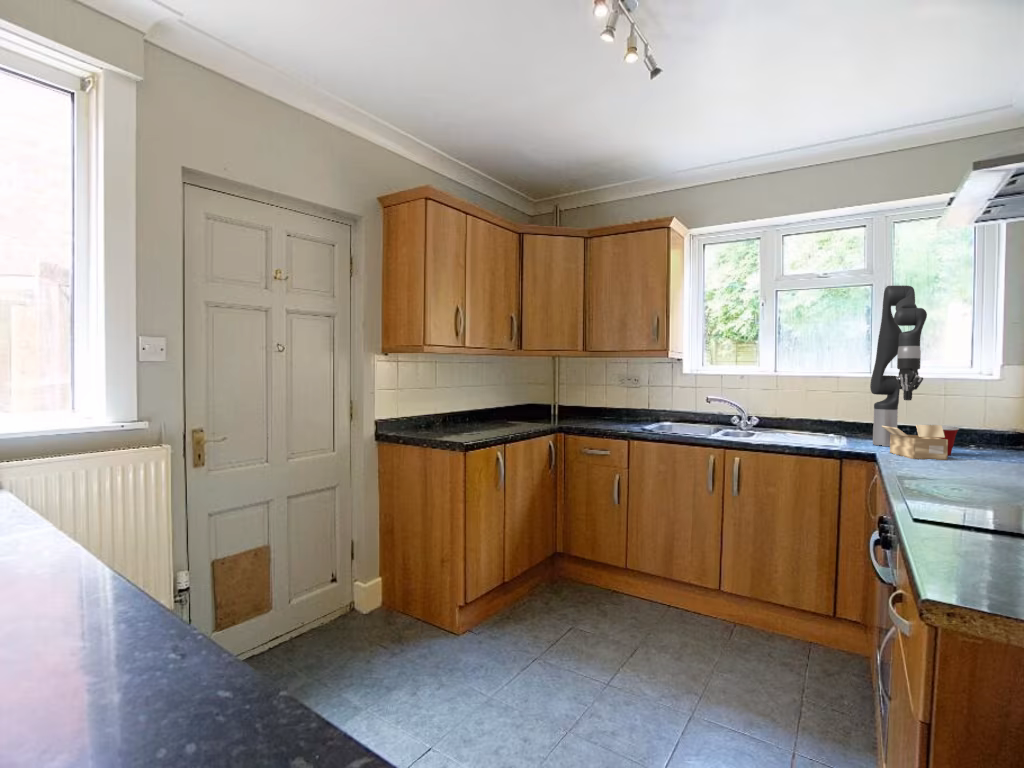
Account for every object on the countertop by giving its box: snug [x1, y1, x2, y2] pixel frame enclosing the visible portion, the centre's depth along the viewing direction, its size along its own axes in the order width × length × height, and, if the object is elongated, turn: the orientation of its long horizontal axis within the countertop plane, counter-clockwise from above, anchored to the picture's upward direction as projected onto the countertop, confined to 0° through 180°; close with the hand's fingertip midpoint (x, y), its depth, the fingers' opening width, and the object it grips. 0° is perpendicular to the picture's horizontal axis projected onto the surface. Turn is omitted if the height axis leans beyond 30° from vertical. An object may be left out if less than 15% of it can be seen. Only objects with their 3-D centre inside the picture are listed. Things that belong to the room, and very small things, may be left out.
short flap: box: [915, 424, 945, 438], centre depth 206 cm, size 9×5×1 cm
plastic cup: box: [935, 424, 960, 457], centre depth 221 cm, size 11×11×12 cm
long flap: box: [882, 426, 909, 437], centre depth 214 cm, size 11×5×1 cm
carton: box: [889, 434, 948, 461], centre depth 213 cm, size 16×12×8 cm
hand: (907, 400), depth 214 cm, fingers closed
